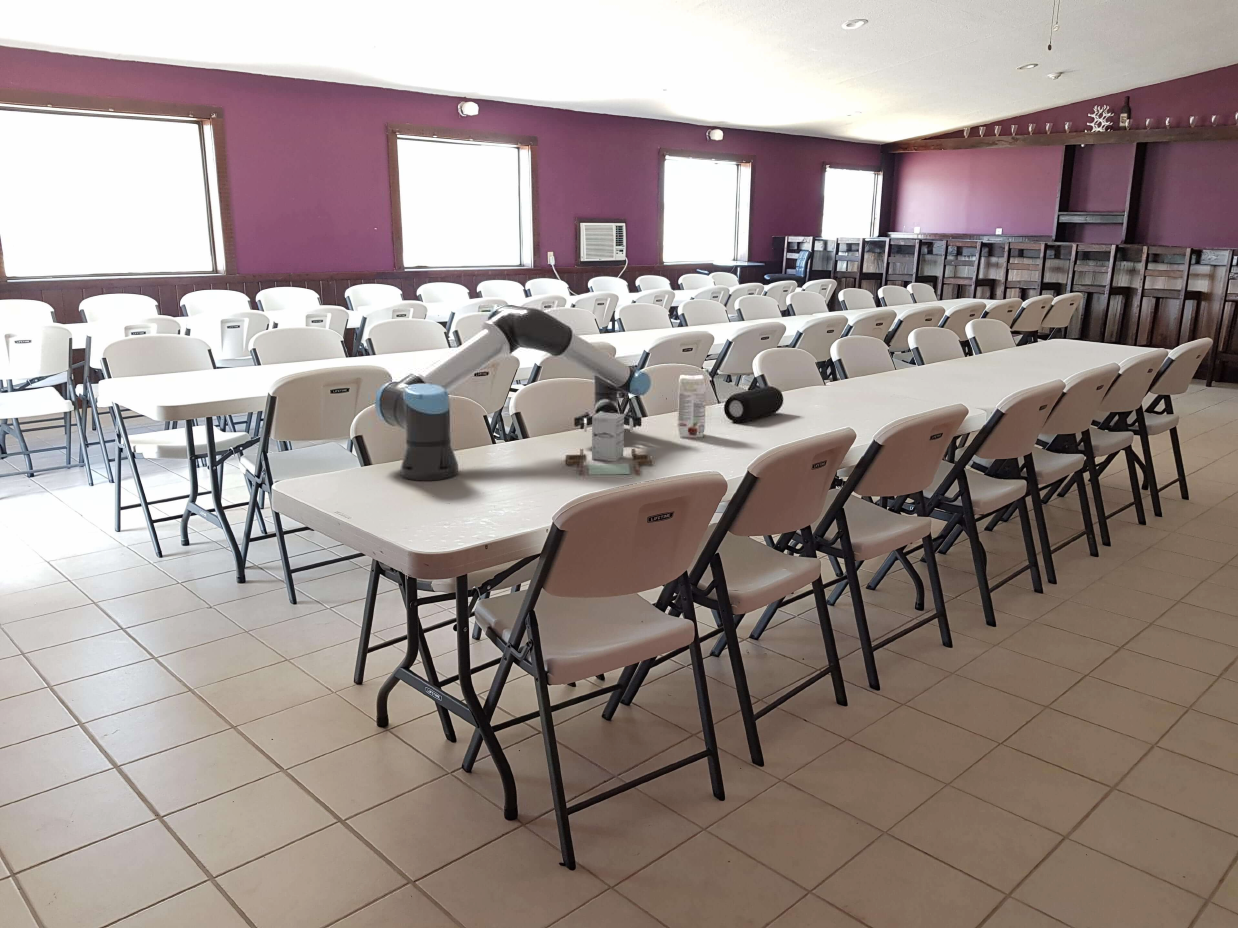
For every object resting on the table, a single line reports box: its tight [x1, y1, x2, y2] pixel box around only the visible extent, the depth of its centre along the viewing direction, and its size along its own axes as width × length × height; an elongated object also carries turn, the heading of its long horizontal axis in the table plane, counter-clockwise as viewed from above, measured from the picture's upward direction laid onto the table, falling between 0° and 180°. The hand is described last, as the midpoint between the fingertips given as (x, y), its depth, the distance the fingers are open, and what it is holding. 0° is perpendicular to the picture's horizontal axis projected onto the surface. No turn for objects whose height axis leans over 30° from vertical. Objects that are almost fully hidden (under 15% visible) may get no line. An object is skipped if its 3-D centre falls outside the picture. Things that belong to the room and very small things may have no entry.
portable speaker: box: [723, 385, 784, 424], centre depth 327 cm, size 26×10×10 cm, turn 140°
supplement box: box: [591, 412, 625, 462], centre depth 270 cm, size 7×7×13 cm
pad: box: [588, 463, 631, 476], centre depth 258 cm, size 11×10×1 cm
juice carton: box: [677, 374, 707, 439], centre depth 298 cm, size 8×9×19 cm
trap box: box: [564, 448, 653, 476], centre depth 264 cm, size 24×24×2 cm
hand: (608, 427), depth 277 cm, fingers open, 13 cm apart
